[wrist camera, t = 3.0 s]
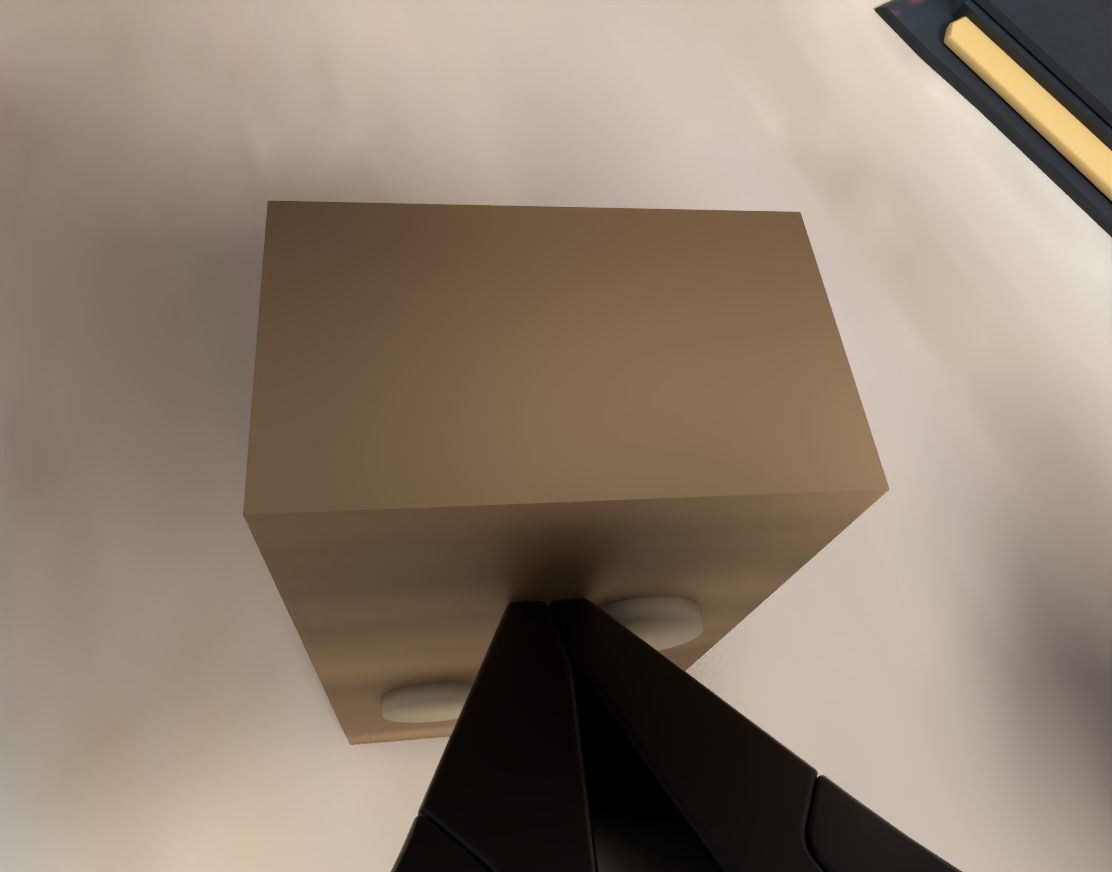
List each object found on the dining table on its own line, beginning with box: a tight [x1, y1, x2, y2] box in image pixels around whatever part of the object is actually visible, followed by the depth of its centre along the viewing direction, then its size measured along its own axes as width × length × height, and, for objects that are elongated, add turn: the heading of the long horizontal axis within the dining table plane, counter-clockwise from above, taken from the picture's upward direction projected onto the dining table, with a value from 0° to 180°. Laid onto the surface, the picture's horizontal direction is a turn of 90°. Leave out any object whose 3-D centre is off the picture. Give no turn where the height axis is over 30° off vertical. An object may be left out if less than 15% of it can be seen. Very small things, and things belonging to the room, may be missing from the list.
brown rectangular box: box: [243, 201, 889, 745], centre depth 11 cm, size 4×5×10 cm
